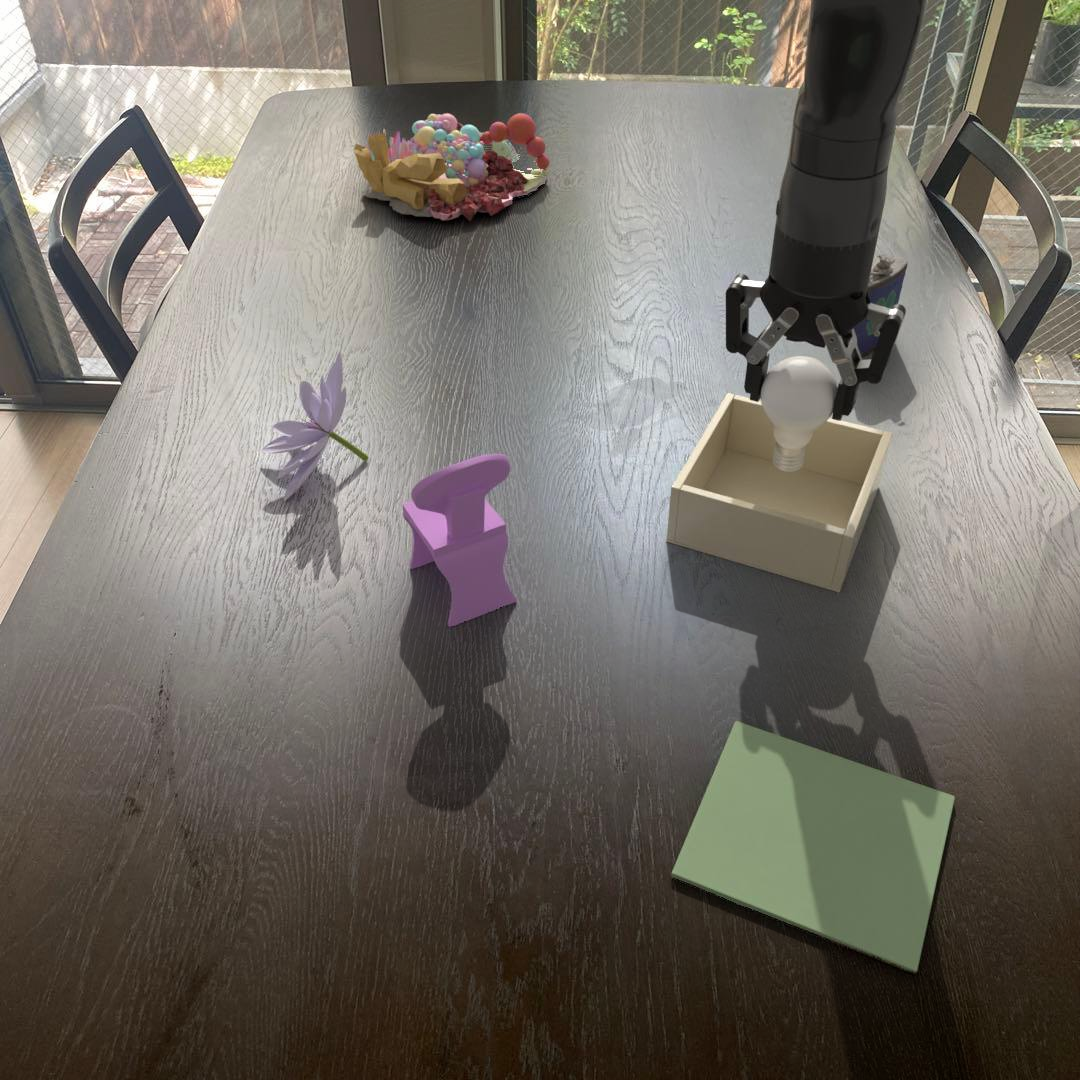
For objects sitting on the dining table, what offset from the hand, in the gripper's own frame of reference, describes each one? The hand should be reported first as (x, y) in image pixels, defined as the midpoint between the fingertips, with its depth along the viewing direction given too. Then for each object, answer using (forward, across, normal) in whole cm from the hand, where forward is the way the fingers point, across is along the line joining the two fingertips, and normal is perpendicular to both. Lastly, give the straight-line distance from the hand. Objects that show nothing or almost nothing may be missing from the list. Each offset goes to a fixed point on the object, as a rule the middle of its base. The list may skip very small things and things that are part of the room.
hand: (797, 405), depth 91 cm
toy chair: (+12, +22, +20) cm, 32 cm away
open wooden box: (+12, 0, 0) cm, 12 cm away
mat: (+12, -12, +32) cm, 36 cm away
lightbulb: (+7, 0, 0) cm, 7 cm away
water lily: (+12, +43, +11) cm, 46 cm away
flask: (+12, -1, -32) cm, 34 cm away
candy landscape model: (+12, +61, -50) cm, 80 cm away
